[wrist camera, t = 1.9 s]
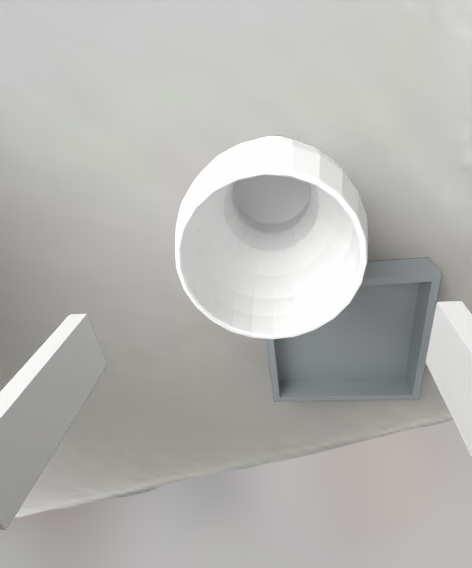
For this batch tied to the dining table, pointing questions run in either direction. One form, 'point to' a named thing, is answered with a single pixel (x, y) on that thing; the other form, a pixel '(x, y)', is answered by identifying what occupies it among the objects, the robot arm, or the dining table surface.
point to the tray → (364, 340)
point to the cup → (271, 239)
